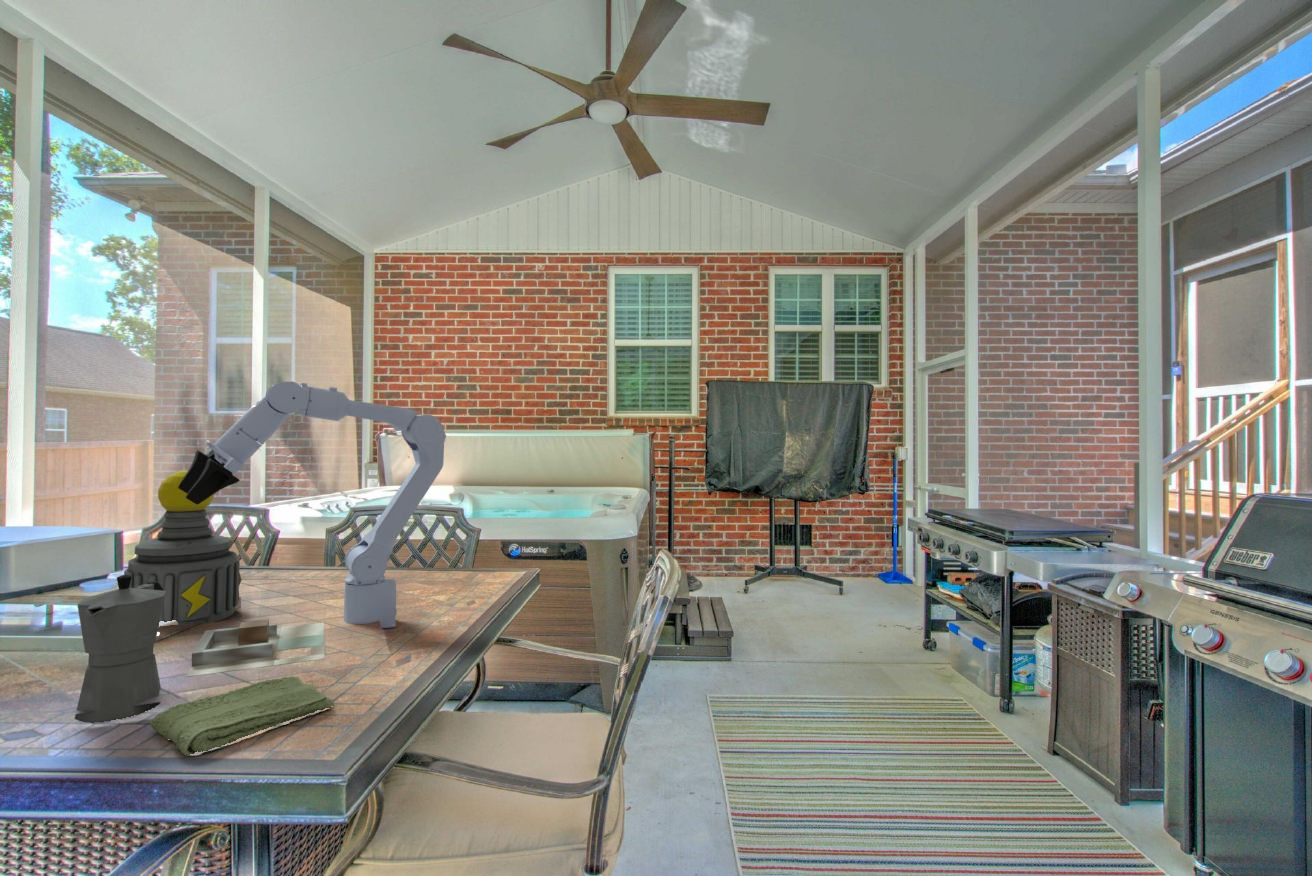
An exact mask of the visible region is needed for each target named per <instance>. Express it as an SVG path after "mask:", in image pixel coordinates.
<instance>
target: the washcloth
mask: <svg viewBox="0 0 1312 876" xmlns="http://www.w3.org/2000/svg"><path fill="white" fill-rule="evenodd" d="M331 706H334V707H335V702H334V700H333V699H332V698H329V697H327V695H326V694H324V693H322V692H321V691H320V690H318V689H316V688H315V686H314V685H313V684H312V683H306V682H304V681H302V680H301V678H300V676H283V677H281V678H274V679H266V680H264V681H263V680H262V681H259V682H255V683H252V684H250V685H246V686H243V687H240V688H235V689H234V690H233V689H232V690H229V691H228V692H225V693H221V694H216V695H212V696H207V697H203V698H197V699H195V700H192V701H187V702H185V703H181V704H176V705H175V706H174V705H173V706H171V707H169V708H168V709H166V710H163V711H161V712H159V713H157V714H156V715H155V716H154V717H153V718H152V719H151V721H150V727H151V728H152V730H153V731H154V732H156V734H160V735H161V736H163V738H164V739H165V738H167V739H171V740H170V741H172V742H173V743H174V744H175V748H176V749H178V748H179V749H178V750H179V751H180V752H181V753H182V754H183V755H184V754H186V756H187V755H190V754H194V753H195V752H197V751H198V752H201V751H202V752H203V751H208V750H210V749H212V748H215V747H221V746H222V745H225V744H227V743H231V742H233V741H236V740H237V739H239V738H242V737H245V736H248V735H251V734H254V733H256V732H258V731H260V730H264V729H267V728H269V727H272V726H276V725H277V724H279V723H283V722H286V721H289V720H291V719H295V718H298V717H302V716H305V715H307V714H309V713H314V712H315V711H317V710H323V709H325V708H330V707H331ZM167 739H166V740H167Z"/></svg>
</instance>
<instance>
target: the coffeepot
mask: <svg viewBox="0 0 1312 876" xmlns="http://www.w3.org/2000/svg"><path fill="white" fill-rule="evenodd" d="M131 578H132V576H130V575H124V574H122V575H119V576H117V577H116V581H117V586H118V588H116V589H113V590H110V591H107V592H106V591H105V592H102V593H98V594H94V595H91V596H87V597H83V598H81V600H80V601H79V602H78V603H77V605H76V606H77V611H78V617H79V618H78V619H79V621H80V622H79V623H80V629H81V635H82V641H83V647H84V653H85V654H88V662H87V666H86V669H85V672H84V678H83V681H82V686H81V689H80V694H79V698H78V702H77V706H76V709H77V710H80V711H81V710H82V711H87V712H80V713H76V714H75V716H74V720H77V721H79V722H81V721H82V722H81V723H88V724H96V723H95V722H101V723H105V722H104V721H110V722H112V721H111V720H116V719H121V720H123V719H122V718H125V719H127V718H126V717H129V718H132V717H131V716H133V717H135V716H134V715H136V716H138V715H141V713H142V714H144V713H146V712H145V711H147V712H149V711H151V710H153V709H154V708H156V707H157V706H159V705H160V704H161V701H157V702H149V703H143V702H146V701H148V700H150V699H153V698H155V697H157V696H159V695H160V692H161V687H162V686H161V681H160V675H159V669H158V665H157V660H156V654H155V653H154V648H155V647H154V645H155V643H156V642H157V641H156V640H157V632H159V628H160V627H159V622H160V617H161V612H162V607H163V602H164V597H165V593H166V591H164V590H163V588H162V587H161V585H160V584H159V582H157V581H152V582H150V583H148V584H145V585H140V586H138V587H137V588H129V586H130V582H131ZM141 703H143V704H141ZM152 708H153V709H152ZM148 710H149V711H148ZM116 721H117V720H116Z"/></svg>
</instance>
